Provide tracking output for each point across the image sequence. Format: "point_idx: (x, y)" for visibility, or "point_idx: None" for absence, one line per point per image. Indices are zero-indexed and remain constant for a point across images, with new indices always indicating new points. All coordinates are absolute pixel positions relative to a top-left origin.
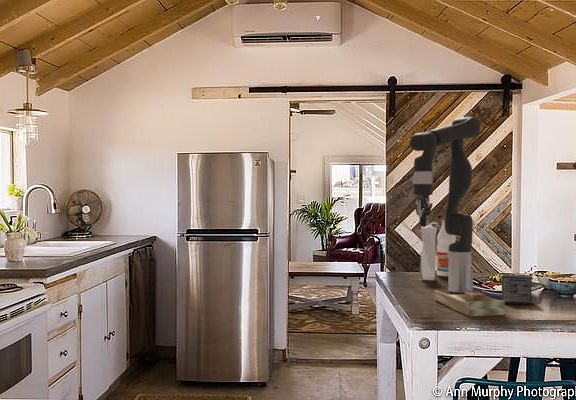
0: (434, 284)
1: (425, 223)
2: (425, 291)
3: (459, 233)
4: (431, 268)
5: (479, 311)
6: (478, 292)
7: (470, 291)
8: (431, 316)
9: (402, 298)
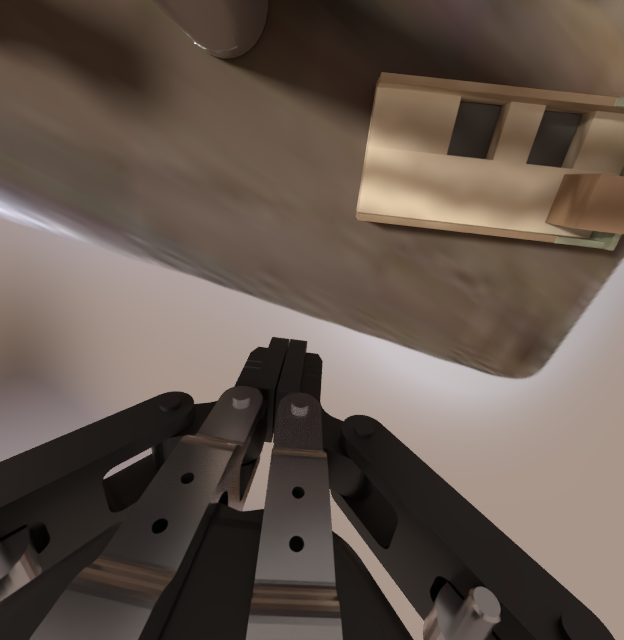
0: (53, 24)
1: (321, 367)
2: (205, 160)
3: None
4: None
5: None
6: (606, 177)
7: (429, 86)
8: (521, 332)
9: (300, 293)
